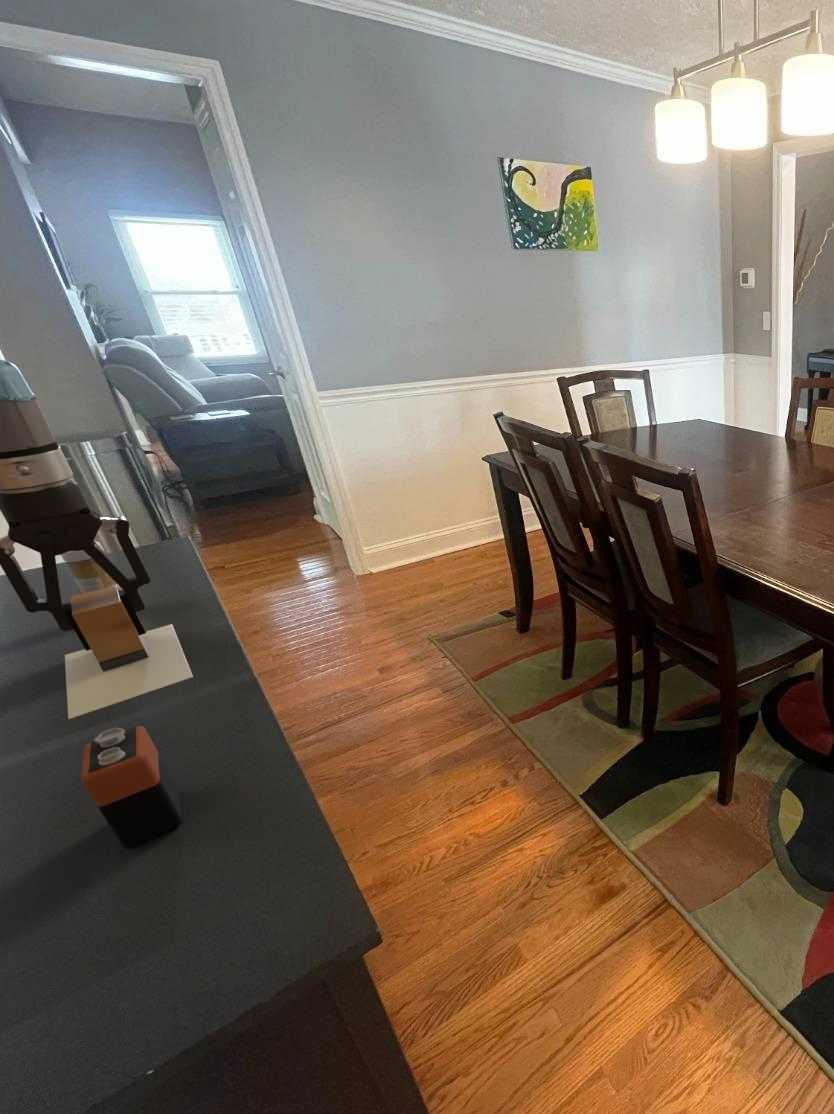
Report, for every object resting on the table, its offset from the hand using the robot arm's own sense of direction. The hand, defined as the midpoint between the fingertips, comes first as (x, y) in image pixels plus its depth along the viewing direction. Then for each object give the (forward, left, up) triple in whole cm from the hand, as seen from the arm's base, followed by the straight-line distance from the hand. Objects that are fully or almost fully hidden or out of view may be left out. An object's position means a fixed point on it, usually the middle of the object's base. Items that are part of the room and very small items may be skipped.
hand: (115, 638), depth 87 cm
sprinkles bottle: (-13, +13, -4) cm, 18 cm away
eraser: (0, 0, -3) cm, 3 cm away
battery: (+30, -31, -4) cm, 44 cm away
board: (+3, -3, -4) cm, 6 cm away
